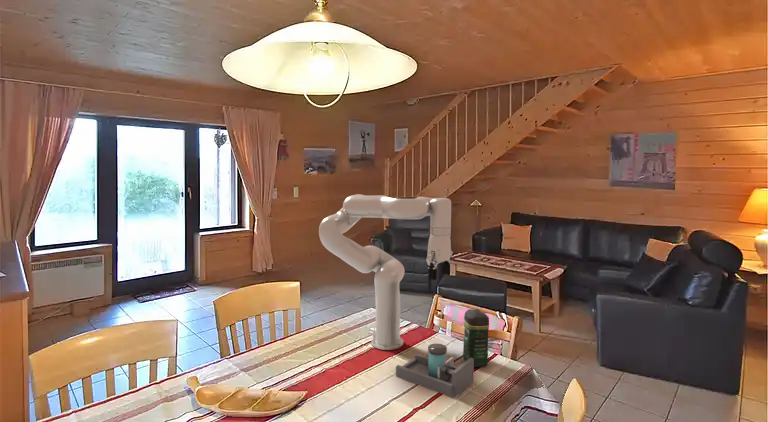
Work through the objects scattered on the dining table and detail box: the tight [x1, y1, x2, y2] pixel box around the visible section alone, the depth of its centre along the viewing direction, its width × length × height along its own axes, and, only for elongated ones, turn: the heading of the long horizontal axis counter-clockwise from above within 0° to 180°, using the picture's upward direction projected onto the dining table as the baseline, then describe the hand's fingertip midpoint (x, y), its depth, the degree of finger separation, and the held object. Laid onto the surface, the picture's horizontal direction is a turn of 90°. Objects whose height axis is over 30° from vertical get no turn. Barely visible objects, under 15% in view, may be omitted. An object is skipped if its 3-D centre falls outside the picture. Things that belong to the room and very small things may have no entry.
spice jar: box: [427, 343, 448, 378], centre depth 143 cm, size 6×6×10 cm
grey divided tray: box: [395, 353, 475, 399], centre depth 144 cm, size 22×12×8 cm, turn 53°
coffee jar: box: [462, 308, 490, 368], centre depth 156 cm, size 10×8×19 cm
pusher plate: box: [437, 356, 455, 381], centre depth 141 cm, size 4×9×6 cm, turn 143°
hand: (439, 276), depth 165 cm, fingers open, 9 cm apart
